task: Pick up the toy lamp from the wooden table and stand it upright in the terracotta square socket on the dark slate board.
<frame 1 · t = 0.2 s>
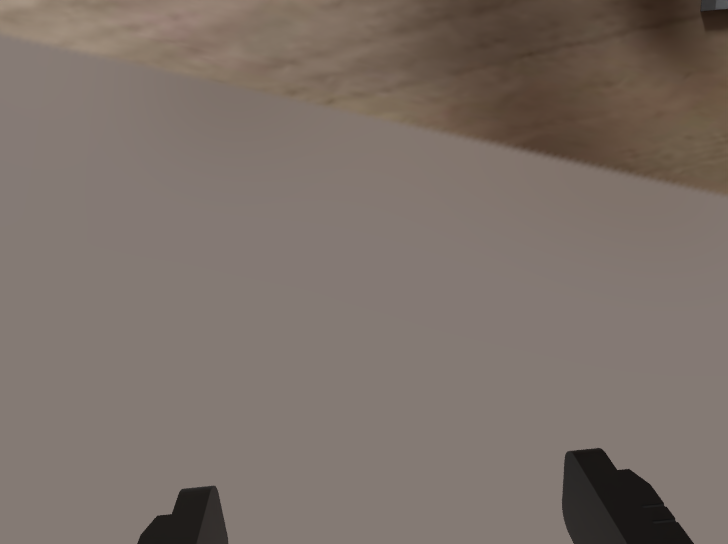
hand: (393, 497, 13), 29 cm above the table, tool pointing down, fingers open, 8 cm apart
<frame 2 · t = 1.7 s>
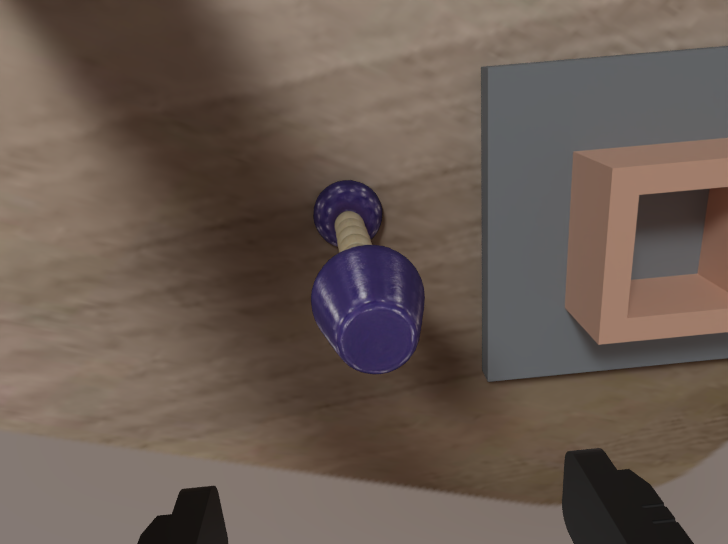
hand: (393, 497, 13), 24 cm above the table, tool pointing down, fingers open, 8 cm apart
toy lamp: (353, 213, 36), on the table
socket block: (636, 219, 37), on the table
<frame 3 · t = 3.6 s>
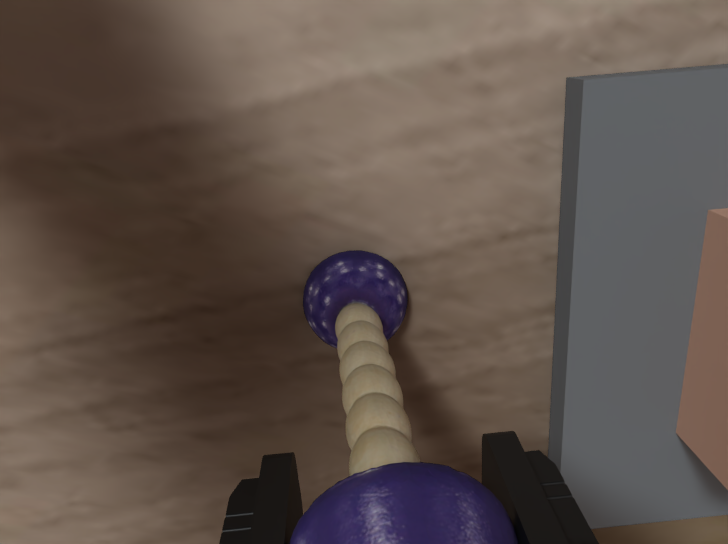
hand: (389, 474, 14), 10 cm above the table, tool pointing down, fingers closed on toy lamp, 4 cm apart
toy lamp: (363, 297, 24), on the table, touching gripper
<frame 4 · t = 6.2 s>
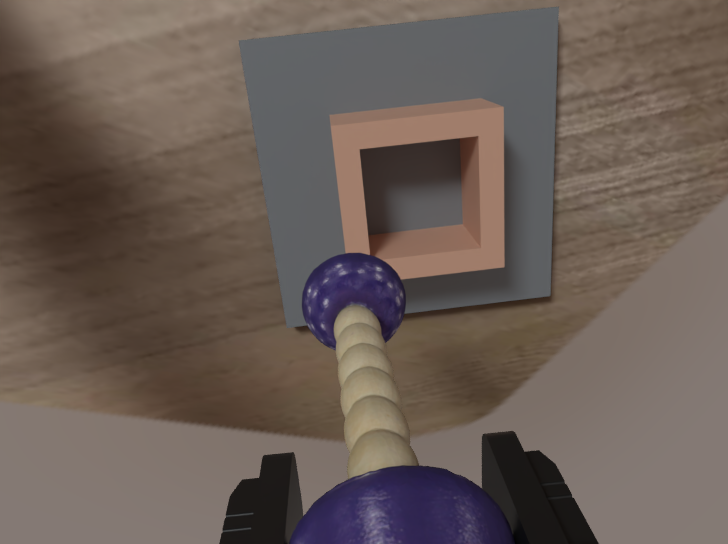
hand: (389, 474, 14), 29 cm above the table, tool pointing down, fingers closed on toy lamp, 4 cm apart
toy lamp: (362, 299, 24), point 19 cm above the table, touching gripper
socket block: (407, 176, 41), on the table
when the fingers open (13 cm above the table, at t = 9.1 s): toy lamp stays where it is, resting on socket block.
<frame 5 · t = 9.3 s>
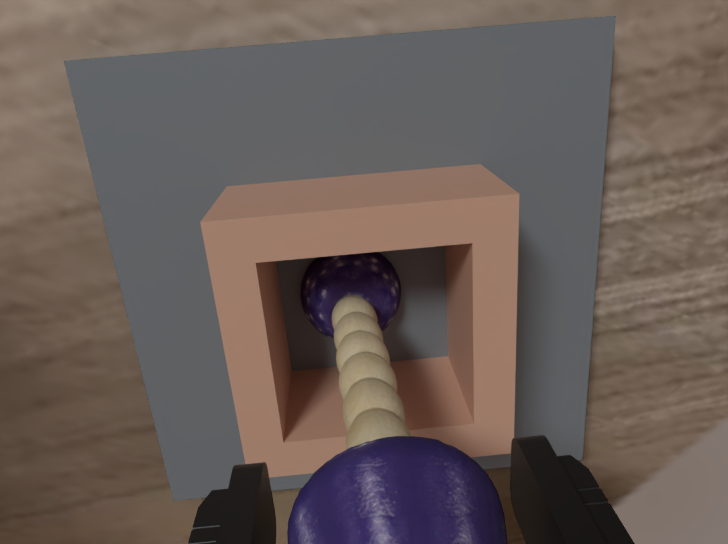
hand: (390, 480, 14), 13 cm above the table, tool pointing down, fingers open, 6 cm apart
toy lamp: (358, 290, 25), point 1 cm above the table, touching socket block
socket block: (362, 278, 26), on the table
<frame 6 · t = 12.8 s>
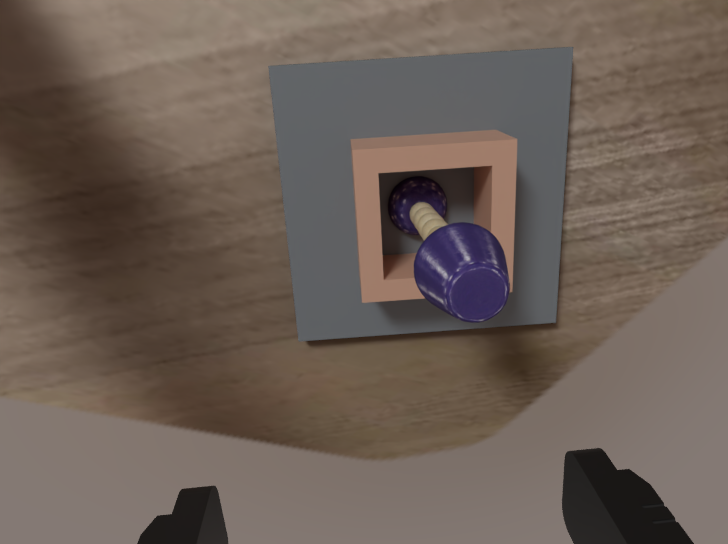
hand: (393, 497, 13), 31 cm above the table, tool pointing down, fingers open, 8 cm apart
toy lamp: (421, 205, 41), point 1 cm above the table, touching socket block
socket block: (422, 201, 43), on the table
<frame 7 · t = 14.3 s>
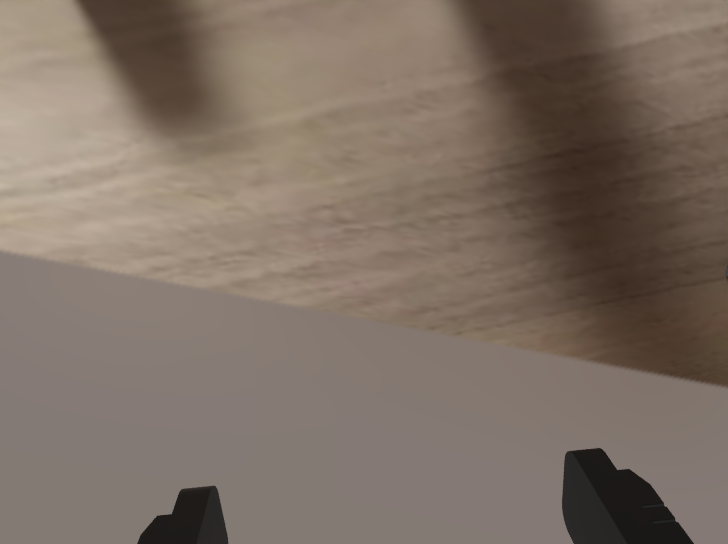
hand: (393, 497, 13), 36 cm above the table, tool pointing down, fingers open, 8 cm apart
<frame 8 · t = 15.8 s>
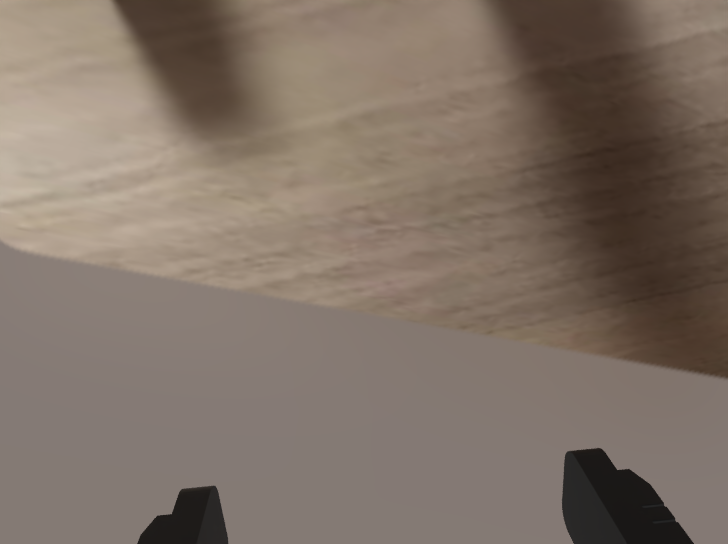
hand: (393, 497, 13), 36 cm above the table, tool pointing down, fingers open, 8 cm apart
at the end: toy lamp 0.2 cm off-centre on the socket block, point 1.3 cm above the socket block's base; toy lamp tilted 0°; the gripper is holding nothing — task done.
